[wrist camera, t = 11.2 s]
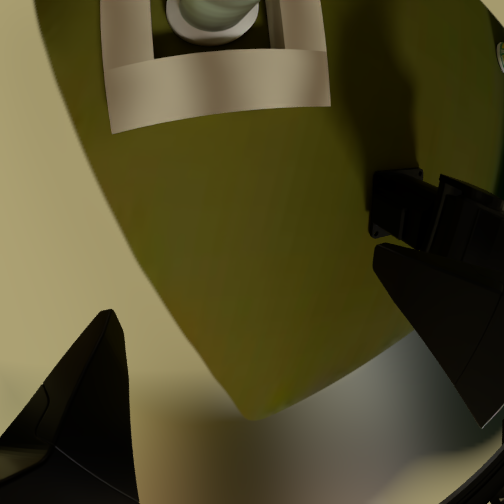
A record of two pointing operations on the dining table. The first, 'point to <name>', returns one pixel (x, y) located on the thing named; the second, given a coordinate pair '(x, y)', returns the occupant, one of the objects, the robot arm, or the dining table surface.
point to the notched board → (211, 68)
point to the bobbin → (211, 20)
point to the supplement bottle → (500, 55)
